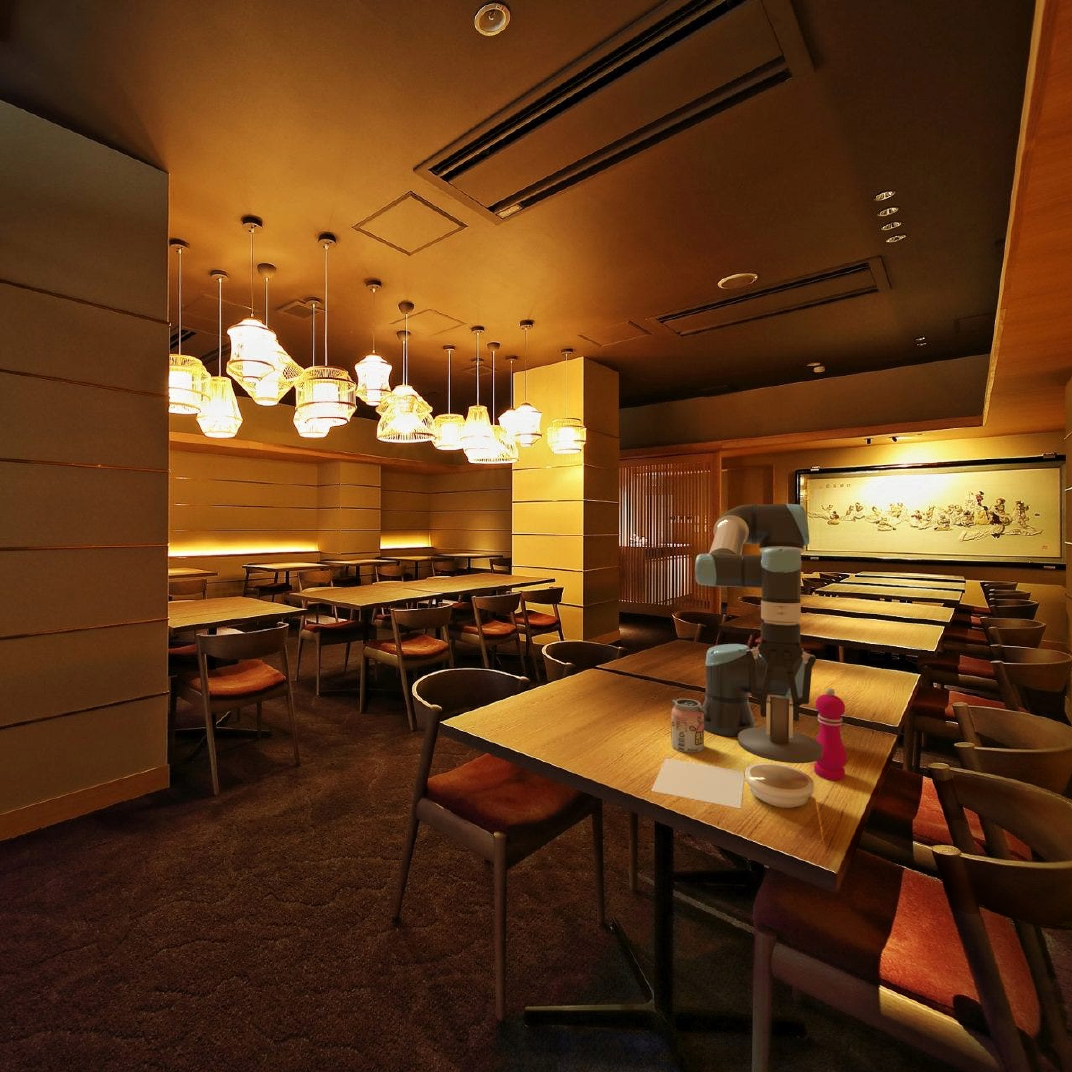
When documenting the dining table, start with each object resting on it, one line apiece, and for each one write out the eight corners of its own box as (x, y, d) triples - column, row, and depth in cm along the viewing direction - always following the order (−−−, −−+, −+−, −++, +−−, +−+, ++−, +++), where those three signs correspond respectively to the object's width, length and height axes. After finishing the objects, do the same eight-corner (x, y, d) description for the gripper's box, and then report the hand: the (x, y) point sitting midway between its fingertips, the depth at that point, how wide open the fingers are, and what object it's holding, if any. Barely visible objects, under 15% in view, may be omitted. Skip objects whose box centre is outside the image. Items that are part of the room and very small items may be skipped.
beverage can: (680, 738, 146) (680, 694, 145) (711, 746, 140) (711, 701, 140) (665, 749, 138) (665, 703, 138) (696, 758, 133) (697, 710, 133)
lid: (739, 728, 123) (740, 683, 123) (819, 739, 116) (819, 692, 116) (736, 754, 108) (736, 704, 108) (826, 769, 102) (826, 715, 102)
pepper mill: (835, 767, 128) (836, 683, 128) (854, 781, 121) (855, 693, 121) (805, 767, 128) (806, 683, 128) (822, 781, 121) (823, 693, 121)
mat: (665, 760, 132) (665, 758, 132) (744, 774, 125) (744, 771, 125) (650, 793, 115) (650, 790, 115) (740, 811, 108) (740, 808, 108)
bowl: (746, 781, 121) (746, 758, 121) (811, 792, 116) (811, 769, 116) (743, 808, 109) (744, 783, 109) (815, 822, 104) (816, 796, 104)
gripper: (736, 621, 112) (735, 733, 112) (827, 627, 105) (826, 747, 106) (738, 616, 119) (737, 722, 119) (823, 622, 112) (822, 734, 112)
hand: (779, 733), depth 112 cm, fingers closed on lid, 3 cm apart
